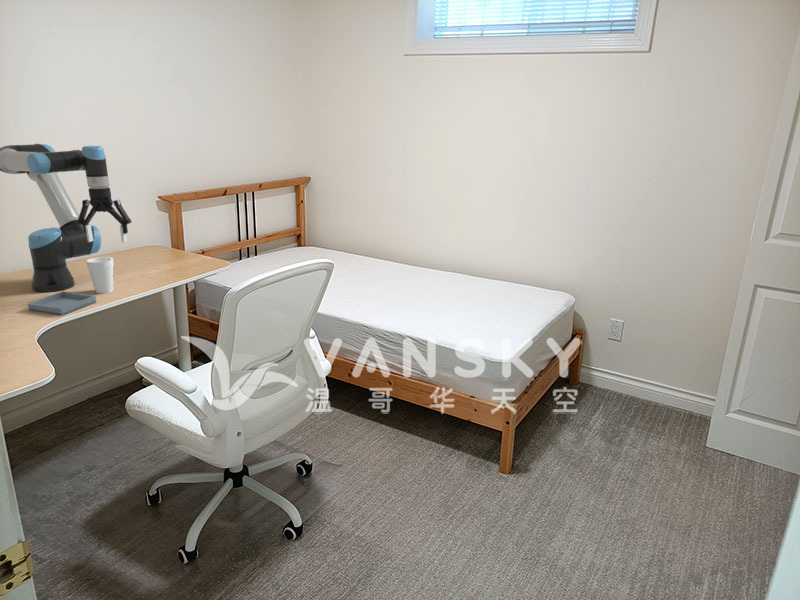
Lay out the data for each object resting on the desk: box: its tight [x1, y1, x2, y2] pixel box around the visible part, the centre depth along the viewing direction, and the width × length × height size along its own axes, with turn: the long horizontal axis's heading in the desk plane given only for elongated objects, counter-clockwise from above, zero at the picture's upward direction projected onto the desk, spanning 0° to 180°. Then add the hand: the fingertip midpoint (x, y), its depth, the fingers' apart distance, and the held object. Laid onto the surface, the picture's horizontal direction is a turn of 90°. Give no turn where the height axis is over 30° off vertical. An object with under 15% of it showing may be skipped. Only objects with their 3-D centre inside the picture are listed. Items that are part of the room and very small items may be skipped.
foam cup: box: [86, 256, 114, 294], centre depth 233 cm, size 10×9×13 cm
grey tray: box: [27, 290, 97, 317], centre depth 217 cm, size 16×16×3 cm
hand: (107, 241), depth 231 cm, fingers open, 13 cm apart
